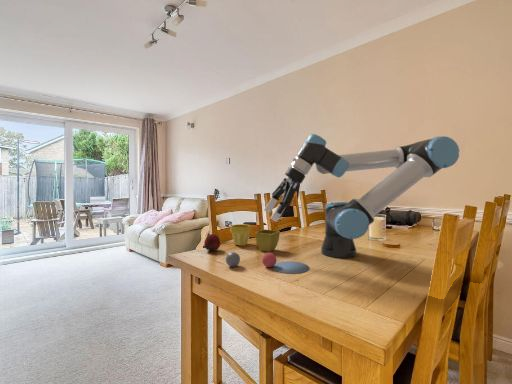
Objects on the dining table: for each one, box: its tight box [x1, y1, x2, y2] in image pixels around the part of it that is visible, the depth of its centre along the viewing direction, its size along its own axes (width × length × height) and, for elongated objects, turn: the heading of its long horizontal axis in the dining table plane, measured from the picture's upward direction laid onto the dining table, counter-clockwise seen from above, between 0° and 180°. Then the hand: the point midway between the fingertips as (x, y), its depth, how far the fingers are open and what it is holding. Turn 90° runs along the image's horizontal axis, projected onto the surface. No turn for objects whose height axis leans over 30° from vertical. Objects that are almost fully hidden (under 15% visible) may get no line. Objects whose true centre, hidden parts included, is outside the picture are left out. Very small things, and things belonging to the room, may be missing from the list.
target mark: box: [271, 260, 310, 275], centre depth 101 cm, size 14×14×1 cm
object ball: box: [261, 252, 277, 268], centre depth 102 cm, size 6×6×6 cm
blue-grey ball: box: [225, 251, 241, 268], centre depth 102 cm, size 6×6×6 cm
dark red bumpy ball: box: [203, 233, 221, 252], centre depth 125 cm, size 7×8×8 cm
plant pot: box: [229, 223, 251, 247], centre depth 137 cm, size 10×10×10 cm
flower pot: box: [254, 229, 280, 253], centre depth 126 cm, size 9×9×9 cm
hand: (269, 215), depth 107 cm, fingers open, 13 cm apart
